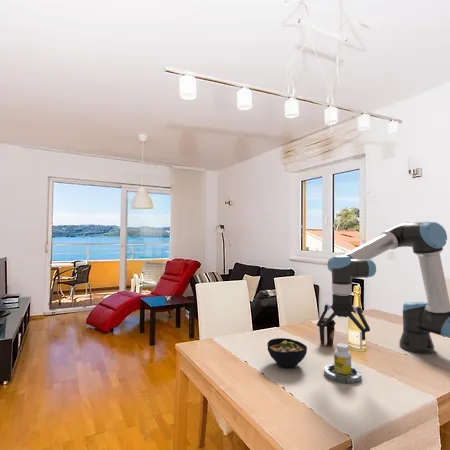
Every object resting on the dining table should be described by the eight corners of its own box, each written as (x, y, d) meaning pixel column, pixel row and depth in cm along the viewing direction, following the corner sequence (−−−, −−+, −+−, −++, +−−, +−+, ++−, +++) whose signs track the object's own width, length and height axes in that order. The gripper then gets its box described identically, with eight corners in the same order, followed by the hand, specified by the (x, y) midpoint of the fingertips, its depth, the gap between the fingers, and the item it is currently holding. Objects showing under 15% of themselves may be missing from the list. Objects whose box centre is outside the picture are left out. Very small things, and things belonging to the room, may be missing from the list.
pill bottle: (331, 371, 131) (331, 342, 132) (346, 370, 132) (346, 342, 132) (338, 378, 125) (338, 348, 125) (354, 377, 125) (354, 347, 126)
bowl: (283, 376, 127) (283, 351, 128) (259, 361, 143) (259, 339, 143) (315, 368, 135) (315, 345, 135) (289, 354, 150) (289, 333, 151)
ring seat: (361, 372, 132) (361, 367, 132) (360, 386, 119) (360, 381, 119) (326, 366, 138) (326, 361, 138) (322, 379, 125) (322, 374, 125)
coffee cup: (333, 341, 169) (333, 317, 170) (337, 347, 161) (337, 321, 161) (316, 341, 170) (316, 316, 170) (320, 346, 162) (319, 321, 162)
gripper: (375, 294, 128) (376, 346, 127) (312, 290, 138) (313, 339, 138) (375, 297, 121) (377, 353, 120) (309, 293, 131) (310, 344, 131)
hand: (343, 346), depth 129 cm, fingers open, 13 cm apart
